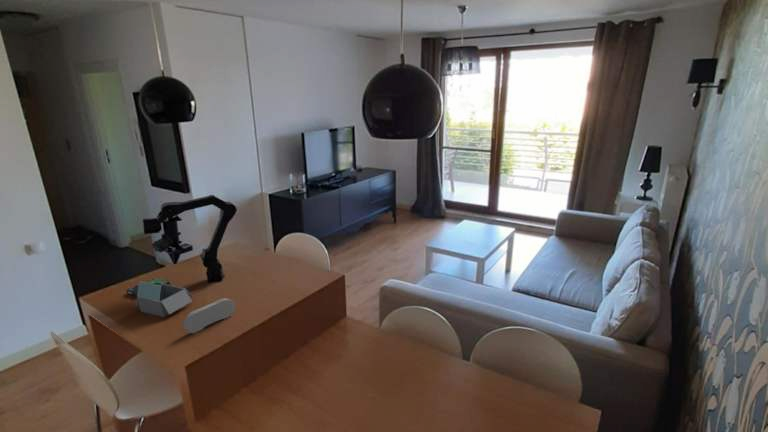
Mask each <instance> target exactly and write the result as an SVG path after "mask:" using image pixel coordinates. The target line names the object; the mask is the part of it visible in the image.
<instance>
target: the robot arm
mask: <svg viewBox="0 0 768 432" xmlns="http://www.w3.org/2000/svg"><path fill="white" fill-rule="evenodd" d="M208 206H214V207H216V208H217V209H220V210H219V219H218V222H217V225H216V228H215V229H214V232H213V235H212V238H211V239H210V243H209V245H208V246H207V247H206V248H202V250H201V251H202V252H201V254H199V257H200V262H201V264H202V266H204V268H206V272H205V275H206V279H207V283H216V282H222V281H223V279H224V278H225V274H224V270H223V265H222V263H221V262H220V260H219V258H218V251H219V247H220V245H221V242H222V240H223V239H224V238H223V237H224V234H225V233H226V229H227V227H228V225H229V223H230V221H232V219H234V217H235V215H236V213H237V211H238V209H237V207H236V205H235V204H233V203H232V202H230V201H224V200H222V199H221V198H219V197H217V196H215V194H210V195H207V196H201V197H198V198H193V199H190V200H186V201H169V202H168V201H167V202H163V203H162V204H161V206H160V211H159V213H158V214H157V216H156V217H152V218H142V223H143V225H142V228H143V234H144V236H146V235H153V234H159V233H160V232H161V231H162V230H163V233H162V234H161V237H160V239H158V240H155V241H153V243H151V247H152V249H153V250H154V251H155V252H159V253H163V252H164V253H166V254H167V255H168V257H169V258H170V260H171V262H172V264H173V265H177V264H178V263H179V259H180V256H181V255H183V254H185V253H189V252H191V251H193V250H194V247H193V245H192V244H191V243H186V242H185V243H183V241H182V240H180V235H181V232H180V231H179V226H178V222H179V221H180V222H181V221H183V220H182V219H183V218H181V217H180V216H178V215H180V214H183V213H184V212H187V211H191V210H195V209H199V208H204V207H208Z"/></svg>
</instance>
